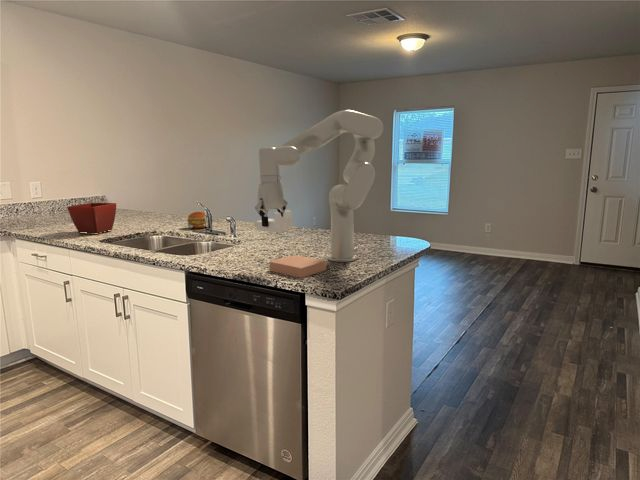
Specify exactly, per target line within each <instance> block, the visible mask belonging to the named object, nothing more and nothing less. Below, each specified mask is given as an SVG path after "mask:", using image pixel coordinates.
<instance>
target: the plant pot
mask: <svg viewBox="0 0 640 480" xmlns="http://www.w3.org/2000/svg"><path fill="white" fill-rule="evenodd" d="M66 207H67V211H68V214H69V215H70V218H71V221H72V223H73V224H74V226H75V228H76V230H77V232H78V233H79V232H87V233H100V232H104V231H108V230H113V227H114V225H115V224H114V223H115V218H116V212H117V203H116V202H88V203H83V204H75V205H68V206H66Z"/></svg>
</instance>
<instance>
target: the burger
mask: <svg viewBox="0 0 640 480" xmlns="http://www.w3.org/2000/svg"><path fill="white" fill-rule="evenodd" d="M204 213H205V212H203V211H194V212H192V213H190V214H189V215H188V217H187V226H188V228H190V229H195V230H196V229H197V230H198V229H206V228H205V223H206V221H205V215H204Z"/></svg>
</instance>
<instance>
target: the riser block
mask: <svg viewBox="0 0 640 480" xmlns="http://www.w3.org/2000/svg"><path fill="white" fill-rule="evenodd" d="M268 263H269V271H270V272H276V273H280V274H284V275H288V276H292V277H295V278H296V277H298V278H305V277H307V276H311V275H314V274H316V273H317V274H318V273H320V272H323V271H326V270H327V261H326V260H323V259H318V258H312V257H307V256H302V255H301V256H300V255H297V254H293V255H288V256H285V257H282V258H278V259H274V260H270V261H269V262H268Z"/></svg>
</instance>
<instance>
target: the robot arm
mask: <svg viewBox="0 0 640 480" xmlns="http://www.w3.org/2000/svg"><path fill="white" fill-rule="evenodd" d="M343 133H344V134H345V133H351V134H352V136H353V137H354V142H355V146H354V150H353V153H352V155H351V156H350V159H349V160H348V162H347V164H346V165H345V168H344V170H343V173H342V178H343V180H344V181H345V182H346V183H347V184H336V185H335V186H333V187H332V188H331V189H330V191H329V195H328V202H329V206H330V207H329V209H330V233H331V234H330V237H331V238H330V239H331V241H330V247H331V248H330V250H331V252H330V254H327V255H328V256H327V260H329V261H332V262H338V263H347V262H354V261H356V260H357V259H358V255H357V254H355V253H356V252H358V251H360V247H359V246H356V247H354V246H355V245H354V237H355V236H354V234H355V233H354V230H355V228H354V226H355V224H354V217H355V216H354V210H356V209H359V207H361V205H362V204H363V203H364V201H365V199H366V197H367V195H368V194H369V192H370V190H371V187H372V186H373V184H374V181H375V179H376V178H375V177H376V171H375V167H374V166H373V165H372V164H371V163H372V161H373V159H374V156H375V153H376V146H375V140H376V139H378V138H380V137H381V135H383V133H384V124H383V122H382V120H381V119H380V118H378V117H376V116H373V115H369V114H366V113H362V112H359V111H355V110H351V109H345V110H339V111H336V112H334V113H332V114H330V115H329V116H328V117H326V118H324V119H323V120H321V121H319V122H318V123H317V124H315V125H313V126H311V127H310V128H308V129H307V130H304V131H303V132H301V133H300V134H298V135H296V136H294V137H292V138H291V139H289V140H287V141H286V142H284V143H283V144H281V145H280V146H278V147H275V146H274V147H273V146H271V147H270V146H269V147H267V146H265V147H260V148H259V149H258V160H259V161H258V162H259V163H258V164H259V177H260V178H259V179H260V180H259V181H260V183H259V184H258V190H257V203H256V205H255V206H254V209H255V211H256V212H257V213H258V215H259V217H261V220H262V226H264V227H268V226H269V224H268V219H269V216H268V213H269V211H270V210H276V212H277V213H281V216H282V217H283V216H284V214H285V210H287V206H288V201H286V199H285V198H284V191H283V186H282V183H281V178H282V177H281V175H280V166H287V167H291V166H294V165H297V164H298V163H299V162H300V159H301V155H303V154H305V153H307V152H310V151H313V150H317V149H320V148H322V147H324V146H325V145H327V144H328V143H329V142H331V141H333V140H334V139H336V138H337V137H339V136H340V135H343Z"/></svg>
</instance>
